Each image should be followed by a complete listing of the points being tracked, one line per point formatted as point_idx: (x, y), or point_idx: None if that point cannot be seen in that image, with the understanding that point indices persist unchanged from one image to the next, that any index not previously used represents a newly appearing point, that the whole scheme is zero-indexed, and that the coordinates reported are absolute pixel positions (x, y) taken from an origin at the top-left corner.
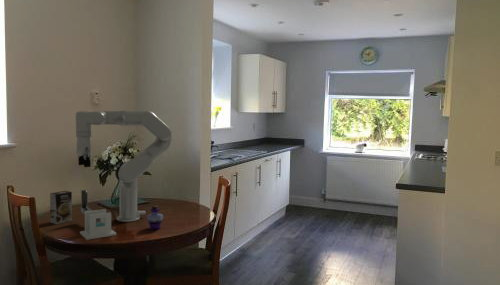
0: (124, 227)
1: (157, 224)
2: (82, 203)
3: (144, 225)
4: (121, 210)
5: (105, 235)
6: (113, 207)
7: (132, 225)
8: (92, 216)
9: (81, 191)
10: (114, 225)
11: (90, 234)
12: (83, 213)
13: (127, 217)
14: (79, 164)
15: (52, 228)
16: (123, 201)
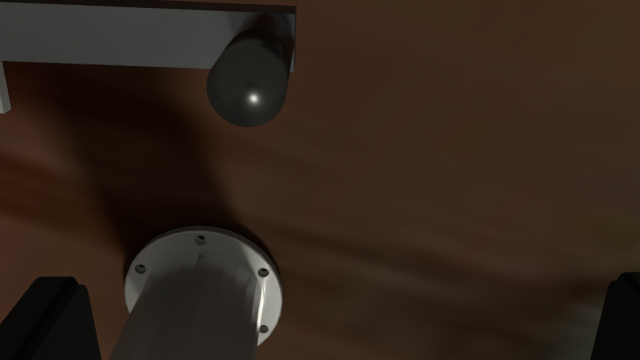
0: (9, 205)
1: None
2: (244, 24)
3: (7, 312)
4: (165, 287)
5: None
6: (579, 318)
7: (38, 259)
8: None
9: (249, 47)
10: (89, 170)
11: None
12: (205, 3)
13: (144, 284)
14: (619, 291)
15: None
16: (125, 345)
